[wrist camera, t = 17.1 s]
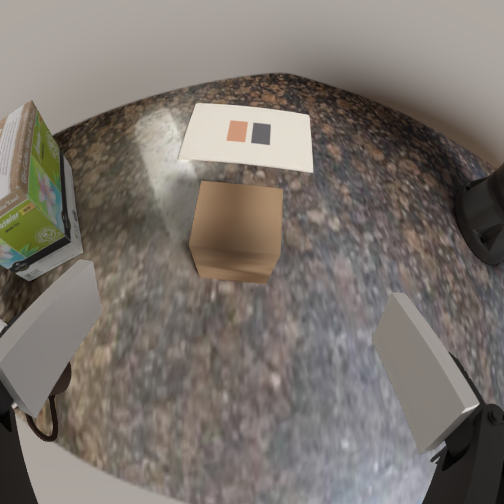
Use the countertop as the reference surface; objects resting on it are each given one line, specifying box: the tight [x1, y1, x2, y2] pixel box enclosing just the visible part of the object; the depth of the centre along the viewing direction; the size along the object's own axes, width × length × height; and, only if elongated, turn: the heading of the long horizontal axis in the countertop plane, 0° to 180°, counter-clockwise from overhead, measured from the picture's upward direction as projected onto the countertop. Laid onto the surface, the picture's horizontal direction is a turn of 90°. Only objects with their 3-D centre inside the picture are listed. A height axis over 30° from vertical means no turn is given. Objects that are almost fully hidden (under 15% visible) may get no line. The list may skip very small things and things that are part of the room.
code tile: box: [178, 103, 313, 173], centre depth 37 cm, size 18×12×1 cm, turn 86°
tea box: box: [0, 100, 83, 281], centre depth 23 cm, size 15×10×15 cm, turn 27°
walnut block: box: [189, 181, 283, 284], centre depth 26 cm, size 7×6×9 cm
